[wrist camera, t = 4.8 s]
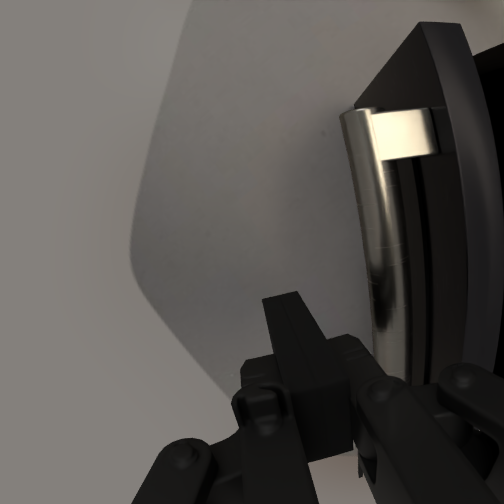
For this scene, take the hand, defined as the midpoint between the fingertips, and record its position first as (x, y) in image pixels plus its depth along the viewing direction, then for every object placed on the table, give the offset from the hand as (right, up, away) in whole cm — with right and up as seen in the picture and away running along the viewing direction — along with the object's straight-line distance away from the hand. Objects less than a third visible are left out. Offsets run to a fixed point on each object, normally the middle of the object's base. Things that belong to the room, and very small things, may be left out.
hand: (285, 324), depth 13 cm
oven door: (+7, +4, +9) cm, 12 cm away
